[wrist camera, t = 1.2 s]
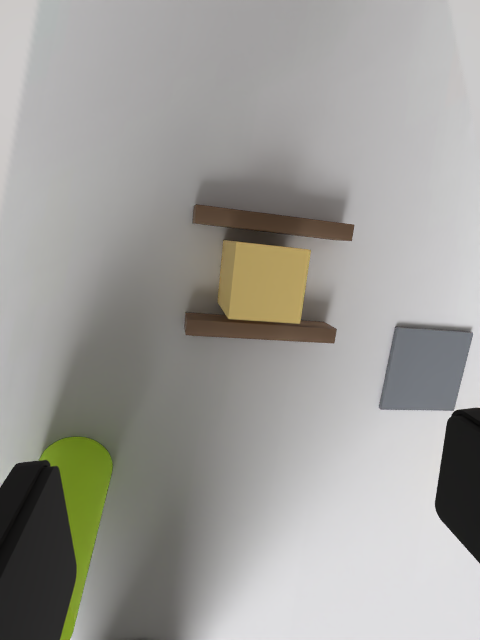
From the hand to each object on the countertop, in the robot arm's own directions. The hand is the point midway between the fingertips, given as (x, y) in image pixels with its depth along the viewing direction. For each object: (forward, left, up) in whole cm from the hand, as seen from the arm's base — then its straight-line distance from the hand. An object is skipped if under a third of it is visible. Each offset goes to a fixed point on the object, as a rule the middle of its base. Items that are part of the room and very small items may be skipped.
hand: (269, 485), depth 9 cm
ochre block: (+3, -4, -22) cm, 22 cm away
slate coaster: (-5, -22, -22) cm, 31 cm away
